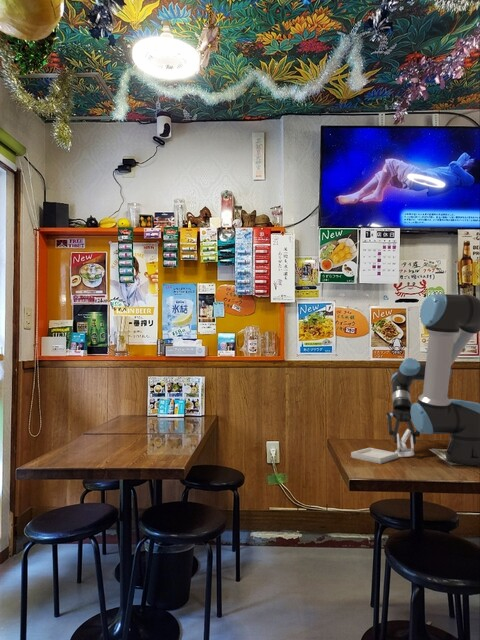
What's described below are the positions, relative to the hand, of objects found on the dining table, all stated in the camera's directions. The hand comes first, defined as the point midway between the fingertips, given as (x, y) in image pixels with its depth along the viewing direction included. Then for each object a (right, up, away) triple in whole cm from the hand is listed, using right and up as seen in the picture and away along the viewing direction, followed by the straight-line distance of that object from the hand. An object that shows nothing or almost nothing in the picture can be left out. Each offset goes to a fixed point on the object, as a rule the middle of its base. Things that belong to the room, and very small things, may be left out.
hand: (405, 449), depth 175 cm
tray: (-12, -3, 0) cm, 13 cm away
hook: (+1, -3, +3) cm, 5 cm away
